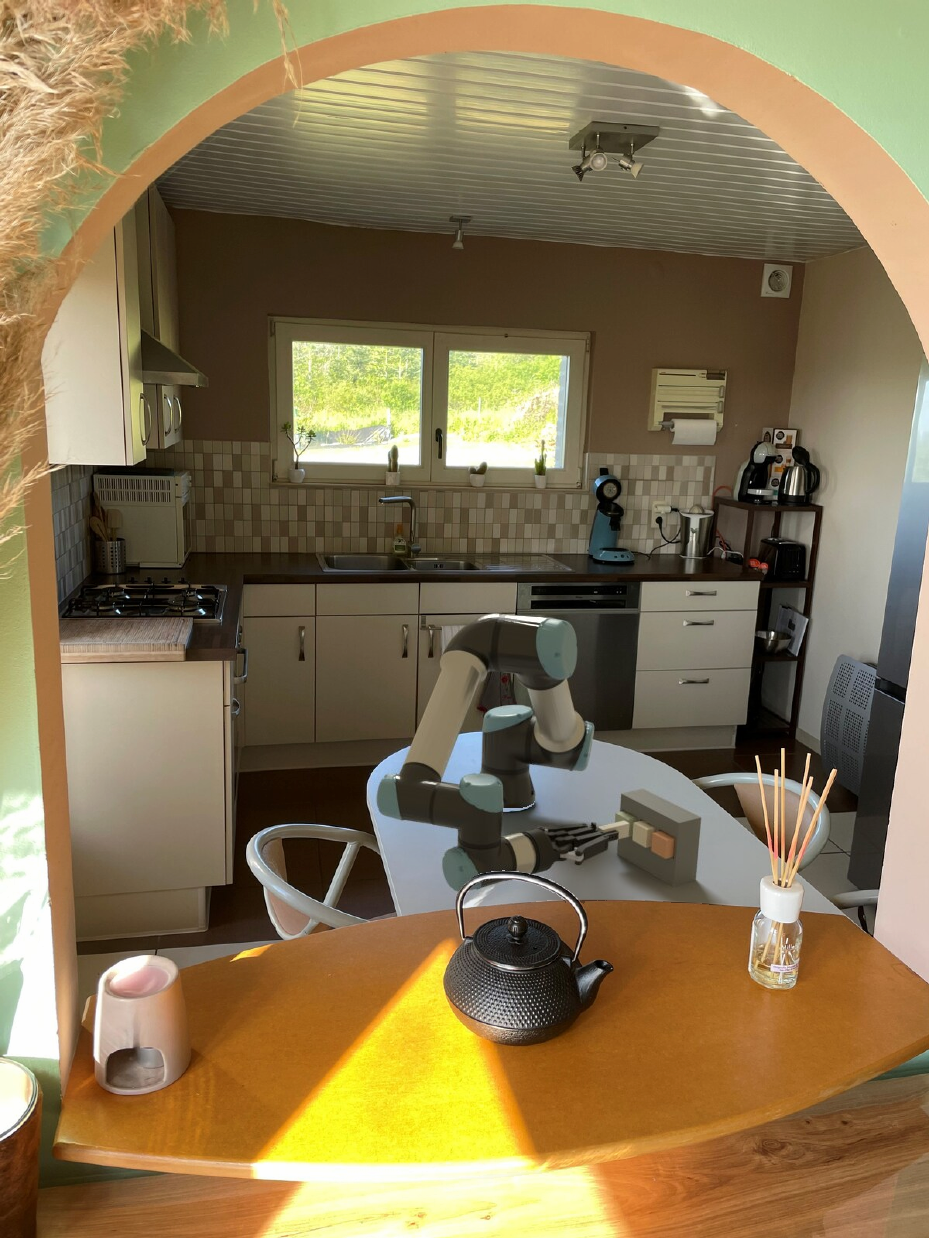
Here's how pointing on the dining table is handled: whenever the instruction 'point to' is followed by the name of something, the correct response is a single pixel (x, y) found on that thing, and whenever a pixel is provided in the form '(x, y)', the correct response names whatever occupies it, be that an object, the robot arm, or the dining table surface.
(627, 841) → the keypad
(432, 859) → the dining table surface
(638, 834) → the cream key
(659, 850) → the terracotta key
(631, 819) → the sage key
